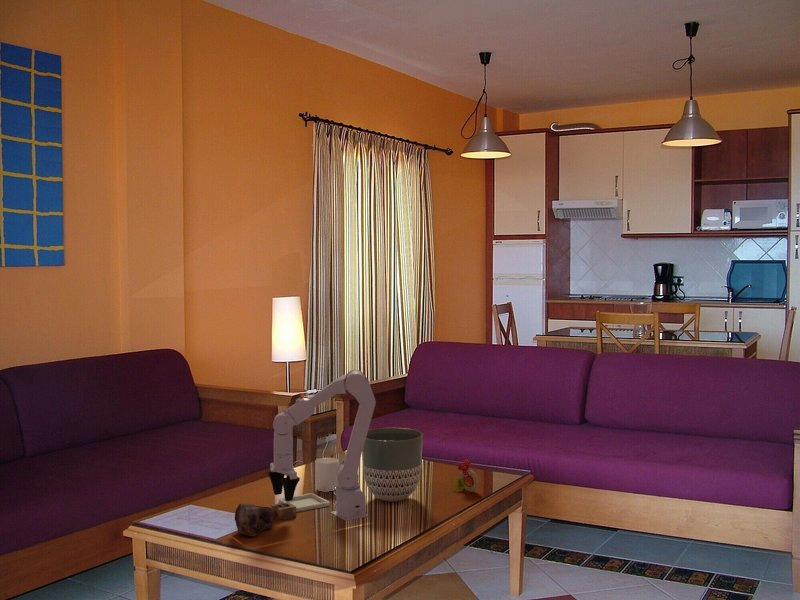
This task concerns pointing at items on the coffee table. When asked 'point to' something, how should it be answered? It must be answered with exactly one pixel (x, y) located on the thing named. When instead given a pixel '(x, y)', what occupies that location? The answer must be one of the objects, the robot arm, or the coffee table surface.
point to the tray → (307, 502)
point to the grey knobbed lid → (283, 507)
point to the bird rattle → (467, 482)
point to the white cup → (326, 473)
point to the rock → (253, 519)
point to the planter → (392, 462)
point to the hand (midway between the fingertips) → (283, 497)
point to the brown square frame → (283, 511)
